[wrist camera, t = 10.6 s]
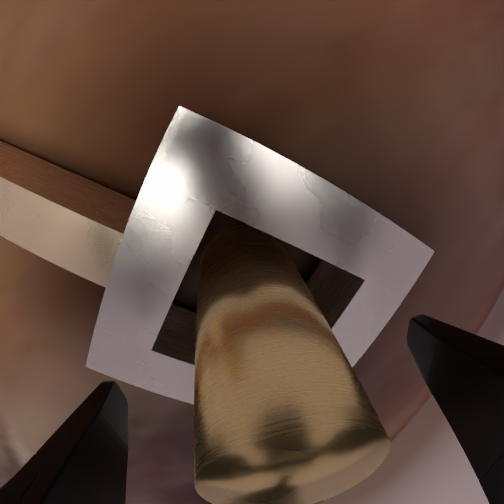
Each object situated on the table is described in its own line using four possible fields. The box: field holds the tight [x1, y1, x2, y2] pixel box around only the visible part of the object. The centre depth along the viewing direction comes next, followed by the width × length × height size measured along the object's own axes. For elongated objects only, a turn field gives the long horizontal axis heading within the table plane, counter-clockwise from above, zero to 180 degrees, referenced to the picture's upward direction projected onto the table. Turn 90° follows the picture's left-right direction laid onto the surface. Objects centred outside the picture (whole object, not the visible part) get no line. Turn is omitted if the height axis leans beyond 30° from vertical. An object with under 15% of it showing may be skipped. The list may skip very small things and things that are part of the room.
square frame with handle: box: [0, 106, 434, 404], centre depth 10 cm, size 10×22×4 cm, turn 62°
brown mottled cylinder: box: [194, 225, 390, 504], centre depth 9 cm, size 4×4×10 cm
